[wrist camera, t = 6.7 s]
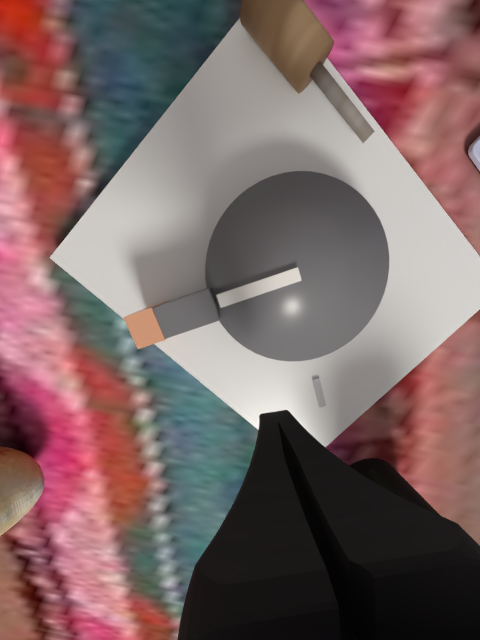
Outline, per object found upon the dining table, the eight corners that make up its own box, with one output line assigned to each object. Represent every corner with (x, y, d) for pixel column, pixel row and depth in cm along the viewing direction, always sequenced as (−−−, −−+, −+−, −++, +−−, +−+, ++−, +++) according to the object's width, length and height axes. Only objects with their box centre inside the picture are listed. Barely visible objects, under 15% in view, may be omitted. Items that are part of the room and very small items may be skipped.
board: (265, 6, 14) (268, -24, 12) (485, 286, 18) (507, 287, 17) (62, 258, 16) (47, 257, 15) (299, 455, 20) (304, 468, 19)
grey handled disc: (351, 157, 14) (385, 126, 11) (385, 323, 17) (421, 335, 14) (115, 240, 15) (85, 232, 12) (180, 391, 17) (169, 418, 14)
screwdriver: (236, 36, 13) (246, -25, 11) (264, 9, 13) (280, -57, 11) (342, 164, 14) (371, 136, 12) (366, 138, 15) (399, 105, 12)
